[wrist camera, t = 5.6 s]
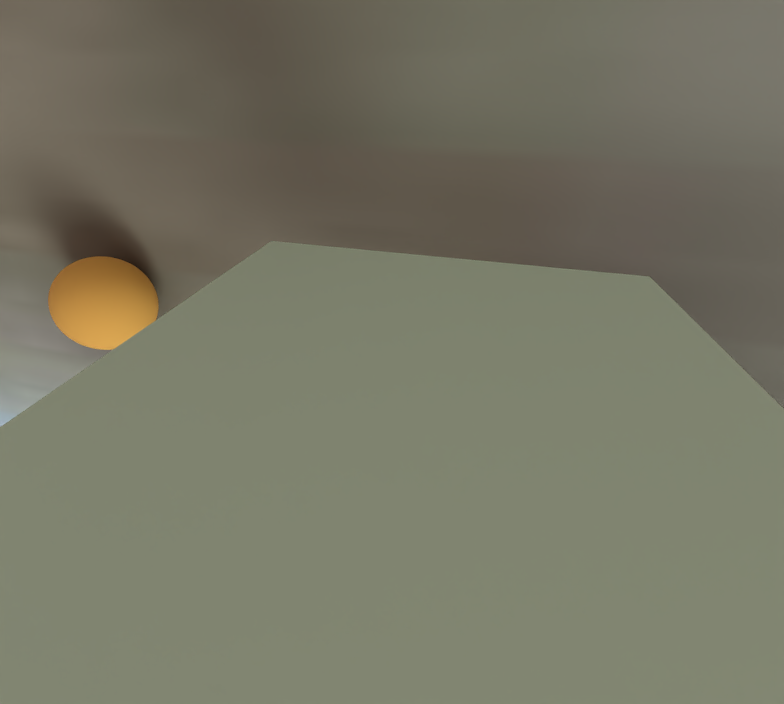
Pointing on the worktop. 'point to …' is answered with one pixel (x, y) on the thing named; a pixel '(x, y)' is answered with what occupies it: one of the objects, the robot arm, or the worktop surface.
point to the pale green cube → (398, 498)
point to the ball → (102, 301)
